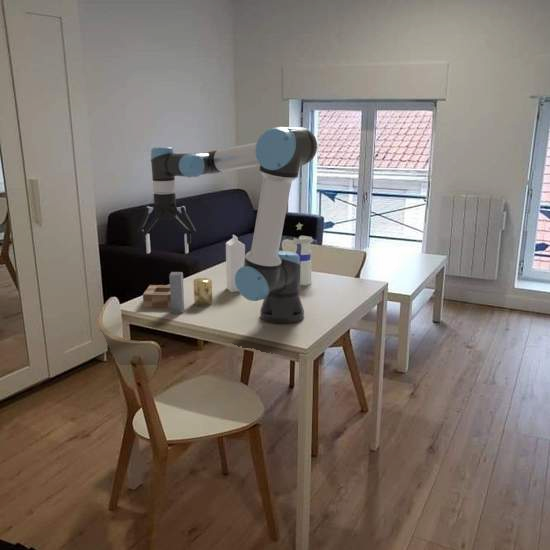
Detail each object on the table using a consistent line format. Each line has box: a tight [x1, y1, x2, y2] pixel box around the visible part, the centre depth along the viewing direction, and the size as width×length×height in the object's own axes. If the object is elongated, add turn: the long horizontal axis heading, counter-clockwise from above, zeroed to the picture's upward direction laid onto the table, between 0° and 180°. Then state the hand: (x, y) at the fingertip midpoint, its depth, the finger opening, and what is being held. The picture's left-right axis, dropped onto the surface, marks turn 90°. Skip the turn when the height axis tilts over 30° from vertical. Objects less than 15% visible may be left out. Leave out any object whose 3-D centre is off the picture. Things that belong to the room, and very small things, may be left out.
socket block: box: [142, 284, 171, 309], centre depth 210 cm, size 12×12×5 cm
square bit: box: [169, 271, 185, 314], centre depth 199 cm, size 4×4×14 cm
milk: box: [225, 234, 246, 293], centre depth 224 cm, size 6×6×22 cm
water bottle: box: [293, 221, 314, 286], centre depth 233 cm, size 8×9×25 cm
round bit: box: [193, 277, 213, 308], centre depth 208 cm, size 7×7×9 cm
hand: (167, 252), depth 201 cm, fingers open, 13 cm apart
